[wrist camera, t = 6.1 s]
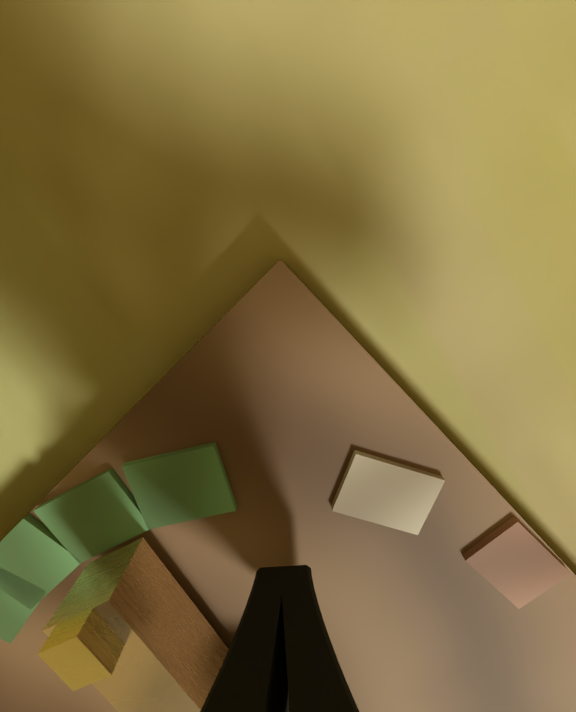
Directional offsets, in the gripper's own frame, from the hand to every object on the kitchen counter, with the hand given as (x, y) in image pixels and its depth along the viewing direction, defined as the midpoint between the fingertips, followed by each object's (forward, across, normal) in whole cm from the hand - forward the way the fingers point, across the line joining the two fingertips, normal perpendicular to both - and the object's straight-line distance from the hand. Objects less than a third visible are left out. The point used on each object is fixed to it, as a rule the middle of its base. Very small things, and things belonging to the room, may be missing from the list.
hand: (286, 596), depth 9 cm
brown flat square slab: (+2, +1, +7) cm, 7 cm away
